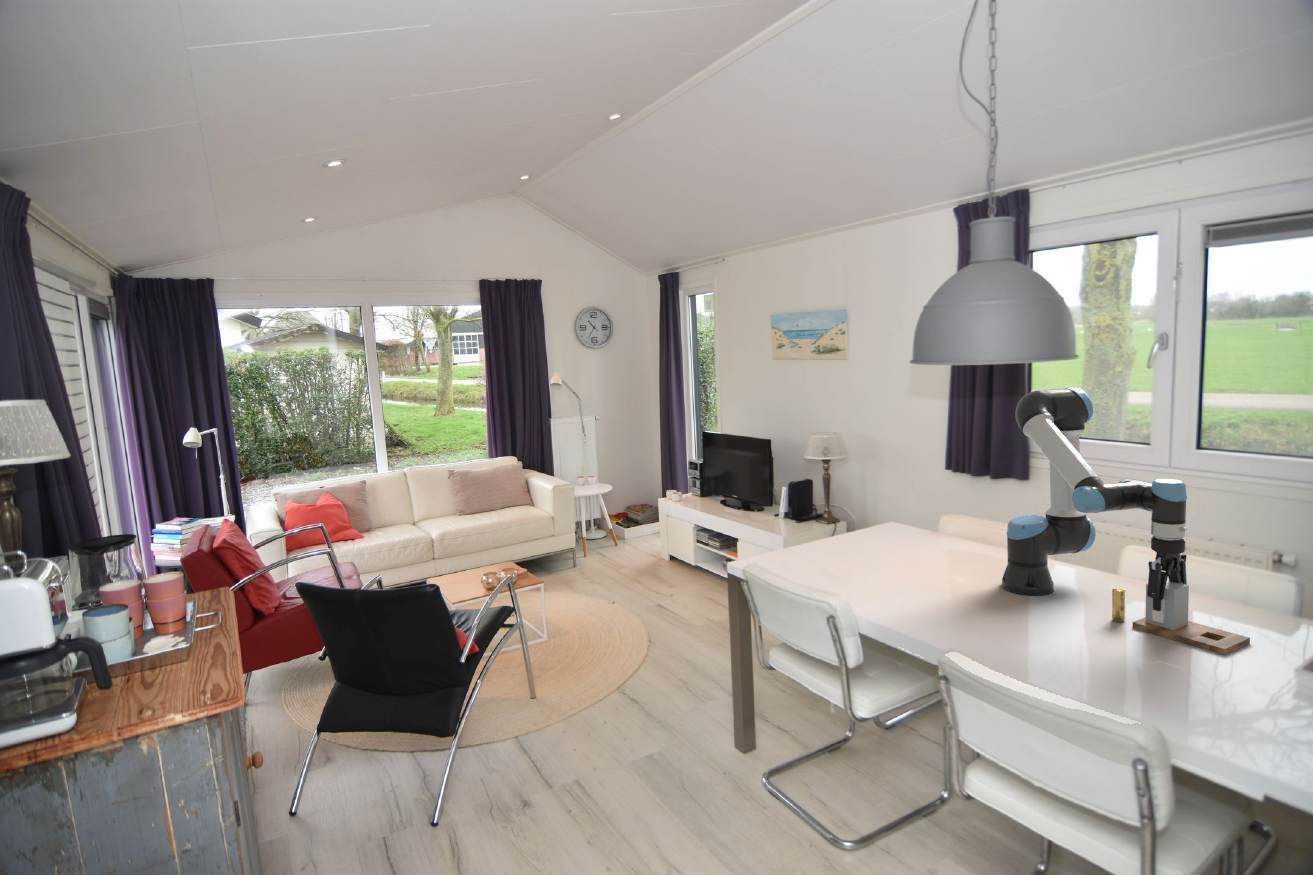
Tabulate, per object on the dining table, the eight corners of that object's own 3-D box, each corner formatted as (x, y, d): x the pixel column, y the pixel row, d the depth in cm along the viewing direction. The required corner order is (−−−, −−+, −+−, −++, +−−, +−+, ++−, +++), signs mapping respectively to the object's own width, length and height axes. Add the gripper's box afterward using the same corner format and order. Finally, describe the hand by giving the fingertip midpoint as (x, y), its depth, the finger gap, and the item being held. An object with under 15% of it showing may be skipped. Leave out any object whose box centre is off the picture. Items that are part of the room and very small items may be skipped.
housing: (1145, 622, 195) (1146, 583, 194) (1160, 616, 198) (1160, 578, 197) (1173, 630, 189) (1174, 590, 187) (1188, 624, 192) (1188, 585, 191)
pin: (1109, 619, 202) (1110, 589, 201) (1116, 617, 203) (1116, 587, 202) (1120, 623, 199) (1120, 592, 198) (1126, 620, 201) (1127, 590, 200)
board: (1132, 627, 196) (1132, 621, 196) (1157, 617, 201) (1157, 612, 201) (1224, 655, 176) (1224, 648, 176) (1249, 643, 181) (1249, 637, 181)
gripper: (1161, 546, 183) (1160, 630, 186) (1204, 533, 192) (1202, 614, 194) (1131, 540, 190) (1130, 622, 192) (1173, 527, 198) (1172, 606, 201)
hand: (1166, 618), depth 193 cm, fingers closed on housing, 7 cm apart
